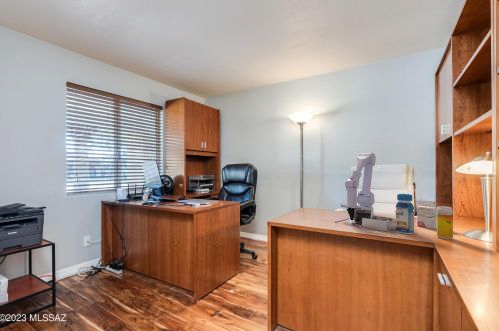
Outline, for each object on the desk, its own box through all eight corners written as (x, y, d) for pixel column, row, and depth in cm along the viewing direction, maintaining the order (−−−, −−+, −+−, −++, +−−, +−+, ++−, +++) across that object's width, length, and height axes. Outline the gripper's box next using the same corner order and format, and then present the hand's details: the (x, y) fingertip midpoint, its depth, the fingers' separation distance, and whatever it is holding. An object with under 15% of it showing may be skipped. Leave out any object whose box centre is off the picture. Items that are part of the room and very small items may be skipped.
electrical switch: (370, 223, 148) (370, 208, 147) (372, 226, 143) (372, 210, 142) (353, 221, 151) (354, 207, 149) (354, 224, 146) (355, 210, 145)
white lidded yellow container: (454, 240, 112) (453, 208, 112) (437, 238, 115) (437, 207, 115) (451, 237, 117) (451, 206, 117) (436, 235, 120) (435, 205, 121)
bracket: (373, 223, 148) (373, 213, 148) (396, 227, 138) (396, 217, 138) (362, 226, 138) (362, 216, 139) (387, 231, 128) (386, 220, 128)
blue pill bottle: (417, 235, 122) (417, 195, 122) (399, 234, 123) (399, 195, 123) (409, 230, 130) (409, 193, 130) (392, 230, 131) (392, 193, 132)
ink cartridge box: (417, 226, 139) (416, 201, 140) (418, 225, 143) (418, 200, 143) (435, 229, 134) (435, 202, 134) (436, 227, 137) (436, 201, 137)
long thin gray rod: (348, 218, 161) (348, 218, 161) (350, 218, 161) (350, 218, 161) (334, 222, 150) (334, 222, 150) (335, 222, 149) (335, 222, 149)
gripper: (337, 197, 154) (338, 219, 153) (360, 200, 142) (360, 223, 142) (343, 196, 158) (343, 217, 158) (366, 199, 147) (366, 221, 147)
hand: (352, 220), depth 150 cm, fingers closed
